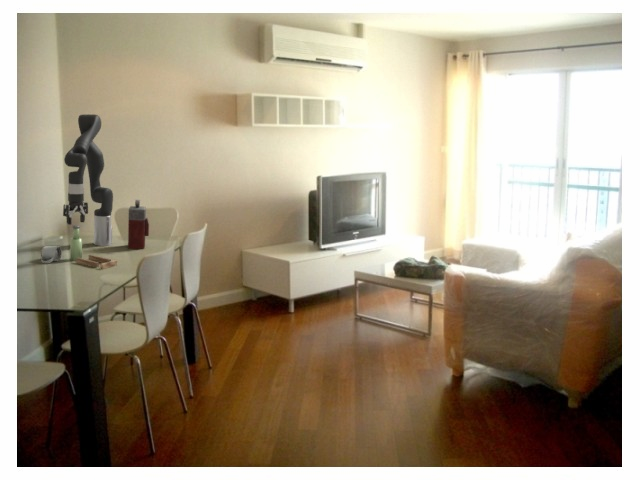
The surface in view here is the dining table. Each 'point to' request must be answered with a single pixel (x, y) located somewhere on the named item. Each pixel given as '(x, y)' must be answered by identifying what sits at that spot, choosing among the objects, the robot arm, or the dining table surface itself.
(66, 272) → the dining table surface
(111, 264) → the rest
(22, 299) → the dining table surface
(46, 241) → the dining table surface
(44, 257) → the ceramic mug
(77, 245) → the bottle
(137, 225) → the dark red tall container
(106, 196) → the robot arm
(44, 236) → the dining table surface
